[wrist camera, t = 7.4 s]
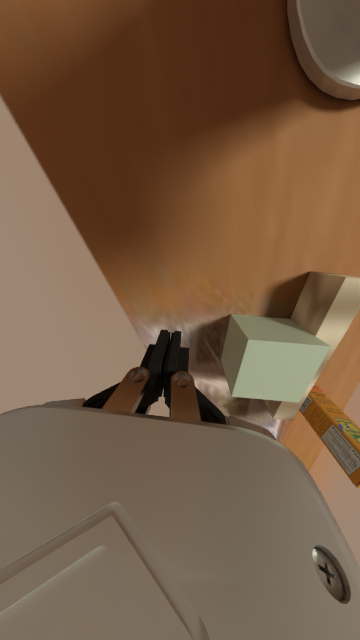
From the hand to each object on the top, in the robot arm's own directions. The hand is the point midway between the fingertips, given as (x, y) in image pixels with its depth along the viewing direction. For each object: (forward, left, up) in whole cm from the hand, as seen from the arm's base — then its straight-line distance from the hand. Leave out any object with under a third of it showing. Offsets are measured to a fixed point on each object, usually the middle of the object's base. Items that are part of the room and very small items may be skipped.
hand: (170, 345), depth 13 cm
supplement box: (+11, +20, -7) cm, 24 cm away
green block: (+3, +10, -7) cm, 13 cm away
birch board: (+3, +15, -7) cm, 17 cm away
